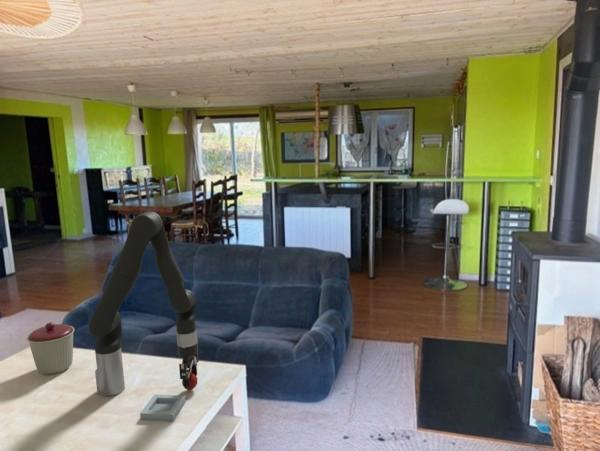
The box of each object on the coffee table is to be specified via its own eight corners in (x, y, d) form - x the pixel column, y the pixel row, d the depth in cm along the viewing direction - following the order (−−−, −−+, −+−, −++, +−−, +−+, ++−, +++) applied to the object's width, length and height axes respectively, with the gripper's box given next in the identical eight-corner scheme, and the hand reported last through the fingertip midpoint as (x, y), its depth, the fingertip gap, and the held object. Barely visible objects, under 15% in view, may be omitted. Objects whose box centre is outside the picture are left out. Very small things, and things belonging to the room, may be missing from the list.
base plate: (140, 419, 159) (140, 413, 158) (154, 400, 170) (154, 394, 170) (173, 421, 157) (173, 414, 157) (185, 401, 169) (185, 395, 169)
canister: (33, 364, 201) (27, 319, 197) (78, 355, 208) (73, 312, 204) (29, 383, 185) (22, 334, 181) (78, 373, 192) (72, 326, 188)
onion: (194, 394, 174) (192, 375, 172) (180, 393, 175) (178, 374, 173) (200, 387, 179) (199, 368, 178) (186, 385, 180) (185, 367, 179)
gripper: (184, 334, 181) (187, 371, 184) (170, 350, 167) (174, 390, 170) (202, 334, 180) (205, 372, 183) (190, 350, 166) (194, 391, 169)
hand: (190, 381), depth 176 cm, fingers open, 8 cm apart
